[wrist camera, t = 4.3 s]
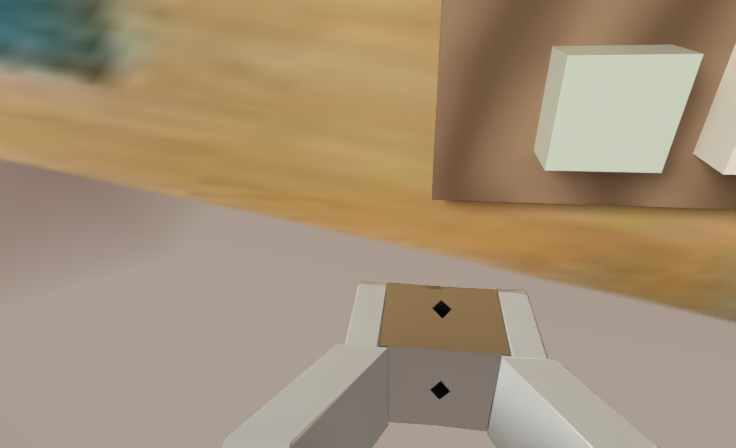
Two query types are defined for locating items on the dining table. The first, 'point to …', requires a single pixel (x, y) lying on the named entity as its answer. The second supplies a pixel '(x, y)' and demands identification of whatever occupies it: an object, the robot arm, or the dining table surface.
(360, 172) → the dining table surface
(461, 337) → the robot arm
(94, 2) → the dining table surface
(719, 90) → the cream tile
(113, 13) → the dining table surface
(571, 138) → the sage tile
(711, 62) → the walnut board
